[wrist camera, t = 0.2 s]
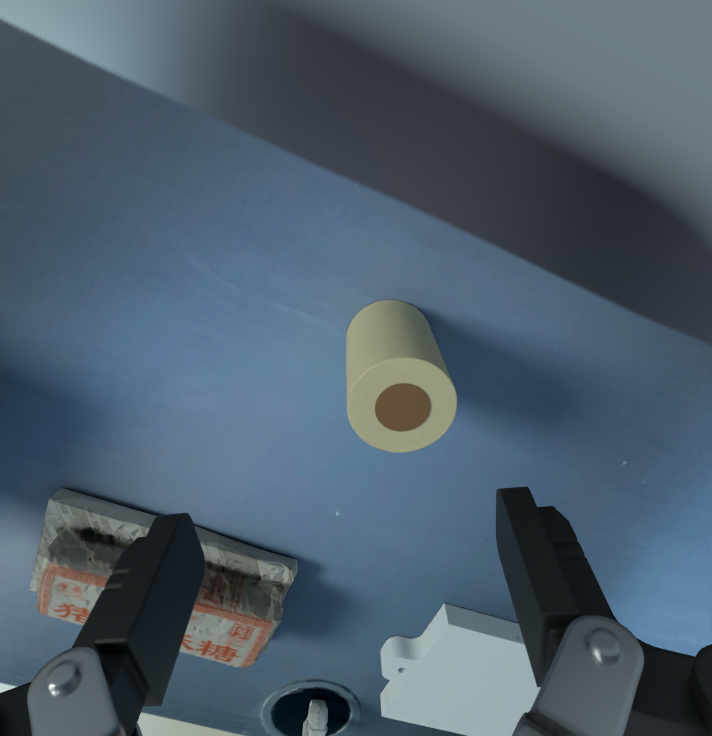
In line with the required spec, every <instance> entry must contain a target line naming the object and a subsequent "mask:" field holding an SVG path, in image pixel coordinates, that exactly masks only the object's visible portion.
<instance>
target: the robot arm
mask: <svg viewBox="0 0 712 736" xmlns="http://www.w3.org/2000/svg"><path fill="white" fill-rule="evenodd" d="M496 540H497V547H498V552H499V557H500V561H501V564H502V567H503V571H504V574H505V578H506V581H507V585H508V588H509V592H510V595H511V599H512V602H513V605H514V609H515V612H516V616H517V619H518V623H519V626H520V630H521V633H522V637H523V640H524V643H525V647H526V650H527V654H528V657H529V661H530V664H531V668H532V671H533V675H534V678H535V682H536V685H537V687H541V688H540V690H539V692H538V695H537V697H536V699H535V701H534V704H533V706H532V708H531V709H530V711H529V712H528V713H527V712H525V713H524V714H523V715H522V716H521V718H520V720H519V721H518V723H517V725H516V728H515V730H514V732H513V734H512V736H712V645H708V646H706V647H704V648H702V649H701V650H700V651H699V652H698V654H697V655H696V657H694V656H690V655H686V654H682V653H677V652H673V651H669V650H665V649H661V648H657V647H654V646H651V645H649V644H647V643H644V642H643V641H641V640H639V639H637V638H636V637H635V636H634V635H633V634H632V633H631V632H630V631H629V630H628V629H627V628H626V627H624V626H623V625H621V624H620V623H619V622H618V621H617V620H616V618H615V616H614V615H613V613H612V611H611V609H610V607H609V605H608V603H607V601H606V598H605V596H604V594H603V592H602V590H601V588H600V586H599V584H598V582H597V579H596V577H595V575H594V573H593V571H592V569H591V567H590V565H589V563H588V561H587V558H585V556H584V552H583V550H582V548H581V546H580V544H579V543H578V541H577V537H576V535H575V533H574V531H573V529H572V527H571V525H570V523H569V521H568V520H567V519H566V518H565V517H564V516H563V515H562V514H561V513H560V512H558V511H557V510H556V509H555V508H554V507H553V506H548V507H537V506H536V504H535V501H534V499H533V497H532V494H531V492H530V490H529V488H528V487H515V488H503V489H497V493H496ZM204 574H205V556H204V552H203V549H202V546H201V544H200V541H199V538H198V535H197V533H196V530H195V527H194V524H193V522H192V519H191V517H190V515H189V514H188V513H180V514H167V515H158V516H157V517H156V518H155V519H154V521H153V523H152V525H151V527H150V529H149V531H148V533H147V535H146V537H137V538H136V539H135V540H134V542H133V543H132V544H131V545H130V546H129V547H128V548H127V549H126V550H125V551H124V552H123V553H122V554H121V556H120V558H119V560H118V562H117V563H116V565H115V567H114V569H113V571H112V575H110V577H109V579H108V580H107V582H106V584H105V586H104V587H105V589H104V590H102V592H101V594H100V596H99V597H98V599H97V601H96V603H95V605H94V607H93V609H92V611H91V613H90V614H89V616H88V618H87V620H86V622H85V624H84V626H83V628H82V630H81V631H80V633H79V635H78V637H77V639H76V641H75V643H74V645H73V646H72V648H71V649H69V650H66V651H64V652H62V653H60V654H58V655H57V656H55V657H54V658H52V659H51V660H50V661H49V662H47V663H46V664H45V665H44V666H43V667H42V668H41V670H40V671H39V672H38V673H37V674H36V676H35V677H34V679H33V681H32V682H29V683H27V684H24V685H21V686H19V687H16V688H13V689H11V690H8V691H5V692H2V693H0V736H142V733H141V730H140V727H139V725H138V723H137V721H138V719H139V716H140V713H141V710H142V708H143V706H161V704H162V701H163V698H164V695H165V692H166V689H167V686H168V683H169V680H170V677H171V674H172V671H173V668H174V665H175V662H176V659H177V656H178V653H179V650H180V647H181V644H182V641H183V638H184V635H185V632H186V629H187V626H188V623H189V620H190V617H191V614H192V611H193V608H194V605H195V602H196V599H197V596H198V593H199V590H200V587H201V584H202V581H203V578H204Z"/></svg>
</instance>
